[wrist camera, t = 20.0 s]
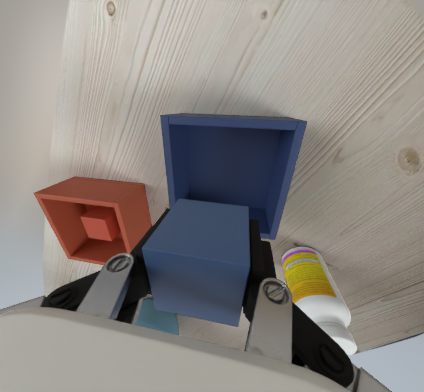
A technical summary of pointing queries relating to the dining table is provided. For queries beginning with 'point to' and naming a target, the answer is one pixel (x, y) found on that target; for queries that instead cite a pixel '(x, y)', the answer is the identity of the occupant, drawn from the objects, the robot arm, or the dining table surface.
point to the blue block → (200, 261)
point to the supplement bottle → (318, 294)
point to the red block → (101, 223)
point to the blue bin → (233, 161)
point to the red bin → (86, 200)
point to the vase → (157, 318)
